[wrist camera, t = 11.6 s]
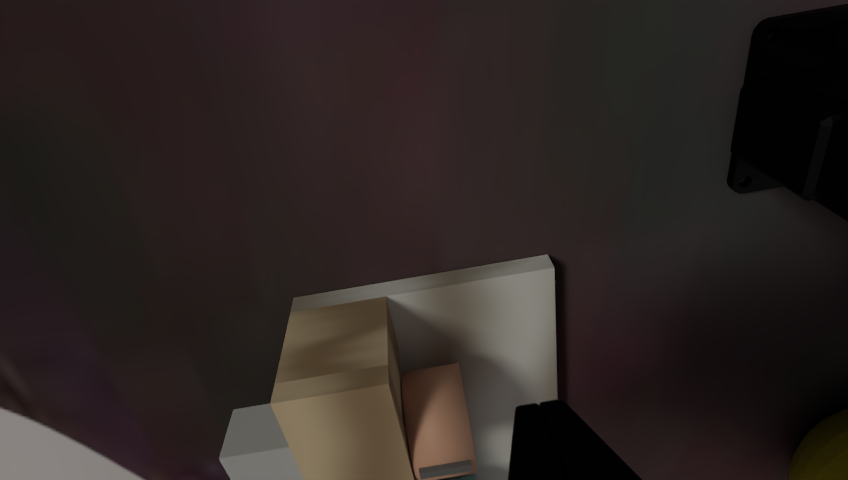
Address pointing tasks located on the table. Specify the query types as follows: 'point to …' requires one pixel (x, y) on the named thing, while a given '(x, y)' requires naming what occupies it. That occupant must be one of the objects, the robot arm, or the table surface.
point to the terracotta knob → (422, 417)
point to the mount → (414, 365)
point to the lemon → (823, 451)
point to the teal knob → (466, 478)
